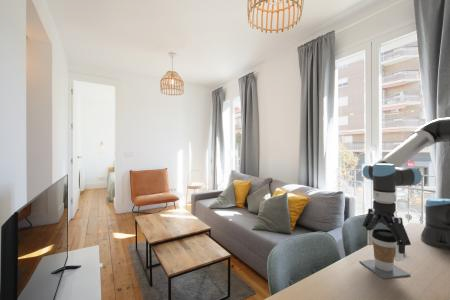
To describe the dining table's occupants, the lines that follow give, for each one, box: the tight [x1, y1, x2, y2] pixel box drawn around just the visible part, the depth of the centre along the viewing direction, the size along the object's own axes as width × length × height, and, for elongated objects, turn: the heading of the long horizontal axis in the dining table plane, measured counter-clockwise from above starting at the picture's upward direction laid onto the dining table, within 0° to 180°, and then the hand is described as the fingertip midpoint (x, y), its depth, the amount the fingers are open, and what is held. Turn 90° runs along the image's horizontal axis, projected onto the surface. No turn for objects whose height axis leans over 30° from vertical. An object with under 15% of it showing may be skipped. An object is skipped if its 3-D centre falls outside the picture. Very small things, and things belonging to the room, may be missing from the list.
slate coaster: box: [359, 259, 411, 280], centre depth 90 cm, size 12×12×1 cm
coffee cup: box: [372, 228, 397, 271], centre depth 90 cm, size 8×8×15 cm
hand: (384, 252), depth 90 cm, fingers open, 13 cm apart
